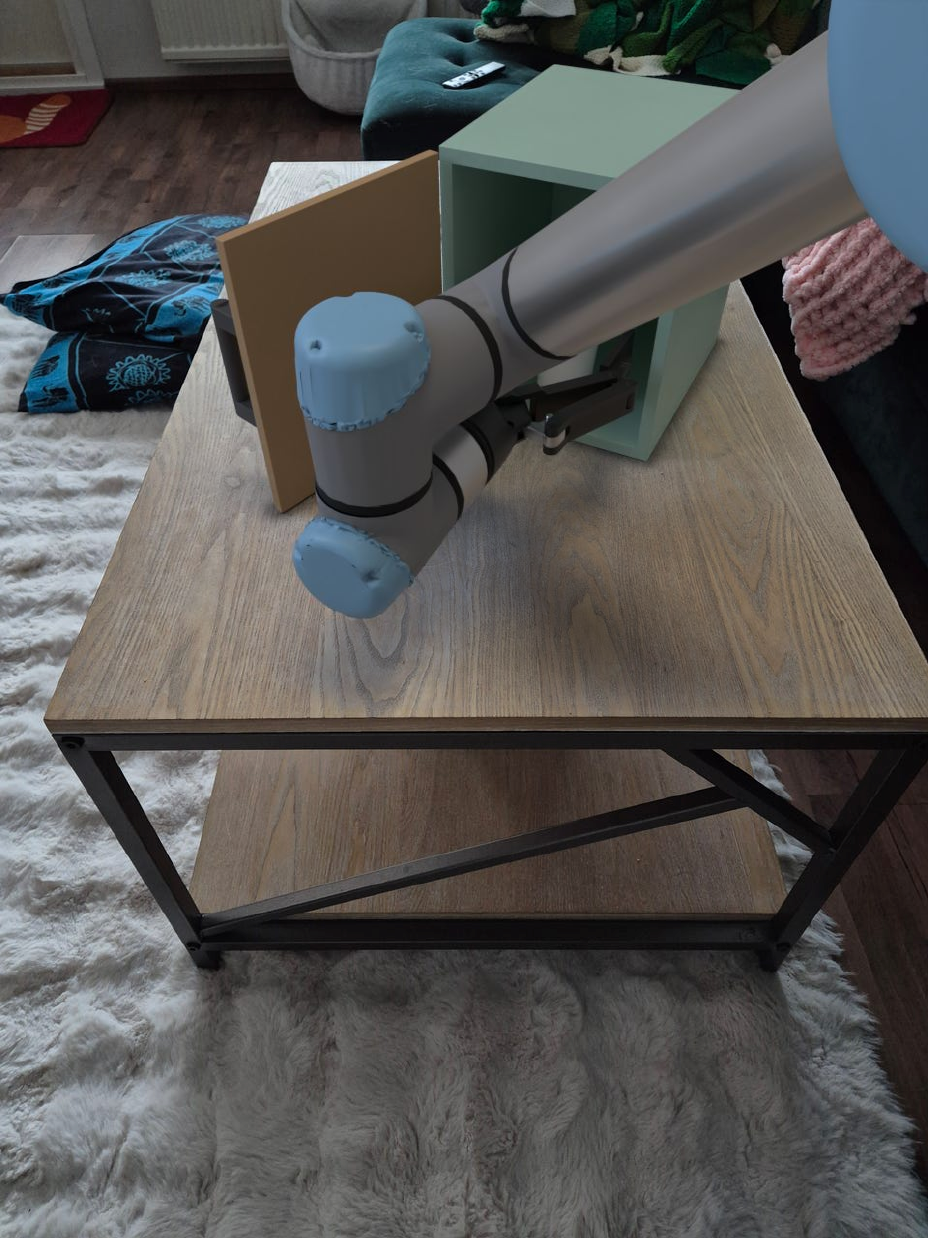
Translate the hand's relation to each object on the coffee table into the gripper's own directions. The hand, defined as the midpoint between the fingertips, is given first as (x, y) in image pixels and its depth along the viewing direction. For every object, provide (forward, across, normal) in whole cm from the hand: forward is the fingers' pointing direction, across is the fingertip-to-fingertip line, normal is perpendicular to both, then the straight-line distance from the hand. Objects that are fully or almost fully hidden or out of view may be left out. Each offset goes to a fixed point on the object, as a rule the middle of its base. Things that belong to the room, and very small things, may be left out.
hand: (557, 325), depth 76 cm
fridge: (+11, 0, -11) cm, 15 cm away
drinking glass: (+4, 0, -10) cm, 10 cm away
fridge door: (-12, -16, -10) cm, 23 cm away
